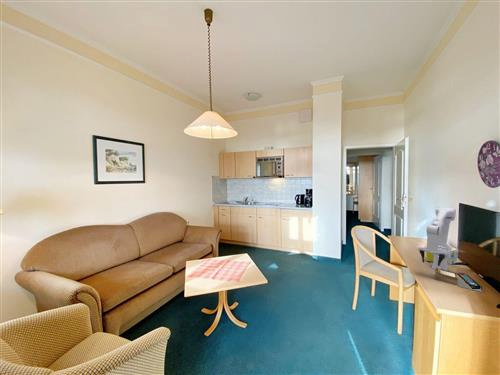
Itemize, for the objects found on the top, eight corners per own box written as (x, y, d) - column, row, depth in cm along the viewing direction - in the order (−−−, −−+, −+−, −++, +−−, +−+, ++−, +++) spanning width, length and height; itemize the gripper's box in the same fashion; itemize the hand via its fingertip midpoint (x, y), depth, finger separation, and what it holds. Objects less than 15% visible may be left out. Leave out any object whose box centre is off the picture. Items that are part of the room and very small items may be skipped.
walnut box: (435, 273, 140) (435, 267, 140) (456, 279, 134) (456, 272, 133) (435, 279, 133) (435, 272, 133) (457, 285, 126) (457, 278, 126)
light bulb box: (450, 264, 155) (451, 250, 154) (439, 261, 161) (440, 247, 160) (457, 262, 159) (458, 248, 158) (446, 259, 165) (447, 246, 164)
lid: (437, 270, 138) (438, 266, 138) (454, 275, 133) (454, 270, 133) (437, 274, 133) (438, 270, 133) (455, 279, 128) (455, 274, 128)
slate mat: (456, 278, 134) (457, 278, 134) (478, 284, 128) (478, 284, 128) (458, 286, 125) (458, 285, 125) (481, 292, 119) (481, 292, 119)
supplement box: (425, 258, 165) (426, 245, 164) (435, 261, 161) (436, 247, 160) (425, 261, 160) (426, 247, 159) (436, 263, 157) (437, 249, 156)
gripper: (418, 242, 136) (416, 262, 137) (448, 247, 128) (446, 269, 129) (418, 240, 142) (416, 259, 143) (447, 244, 133) (445, 265, 134)
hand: (430, 263), depth 136 cm, fingers open, 7 cm apart
